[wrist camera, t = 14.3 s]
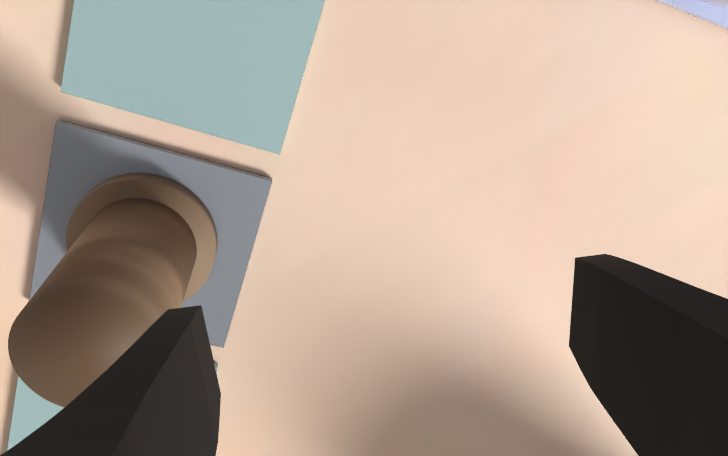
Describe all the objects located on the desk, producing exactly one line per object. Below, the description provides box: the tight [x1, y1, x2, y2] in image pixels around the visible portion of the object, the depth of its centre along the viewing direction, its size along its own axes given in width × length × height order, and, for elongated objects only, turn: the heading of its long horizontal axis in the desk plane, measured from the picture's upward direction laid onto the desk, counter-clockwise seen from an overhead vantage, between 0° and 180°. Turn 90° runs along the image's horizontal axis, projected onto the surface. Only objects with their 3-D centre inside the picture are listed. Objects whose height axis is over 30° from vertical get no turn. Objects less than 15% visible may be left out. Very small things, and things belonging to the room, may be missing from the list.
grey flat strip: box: [7, 0, 325, 451], centre depth 21 cm, size 7×39×1 cm, turn 161°
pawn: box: [8, 173, 217, 407], centre depth 18 cm, size 5×5×7 cm
